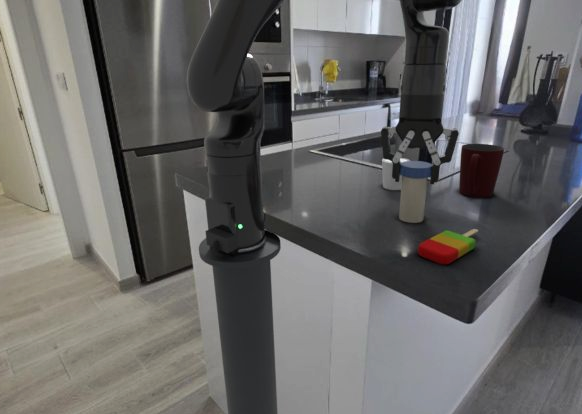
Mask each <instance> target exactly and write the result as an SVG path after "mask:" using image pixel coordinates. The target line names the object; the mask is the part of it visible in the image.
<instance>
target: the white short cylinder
mask: <svg viewBox="0 0 582 414" xmlns="http://www.w3.org/2000/svg"><path fill="white" fill-rule="evenodd" d="M400 161H401V163H402V162H405V161H411V160H410V159H408V158H405V157H401V158H400ZM392 168H393V163H392V161H390V160H388V159H384V158H382V159H381V171H382V172H381V173H382V187H383V189H385V190H389V191H401V183H402V175H400V179H399V182H395V179H393V178H392Z"/></svg>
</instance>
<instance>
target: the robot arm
mask: <svg viewBox="0 0 582 414" xmlns="http://www.w3.org/2000/svg"><path fill="white" fill-rule="evenodd" d="M285 1H286V0H217V1H216V4H215V6H214V8H213V10H212V12H211V15H210V17H209V19H208V21H207V23H206V26H205V28H204V29H203V32H202V34H201V36H200V39H199V40H198V43H197V44H196V47H195V48H194V51H193V52H192V56H191V58H190V60H189V63H188V67H187V72H186V88H187V93H188V95H189V99H190V100H191V101H192V103H193V104H194V105H195V107H197V108H198V109H199V110H201V111H204V112H206V113H217V119H216V122H215V124H214V125H213V127H212V129H211V130H210V131H208V133H206V135H205V136H204V139H203V145H204V154H205V155H204V156H205V165H206V175H207V184H208V185H207V186H208V195H209V196H208V197H206V198H205V200H204V204H205V212H206V223H207V230H205V238H206V240H207V245H209V246H210V248H211V249H212V253H213V254H214V255H215V256H217V257H220V258H222V257H223V256H224V254H226V255H229V256H231V257H235V256H237V255H241V254H248V253H252V252H255V251H257V250H259V249H261V248H262V247H263V246H264V245H265V243H266V237H265V230H266V229H265V222H266V213H264V212H265V211H264V193H263V192H264V191H263V176H262V175H263V173H262V152H261V141H262V137H263V135H264V131H265V88H264V87H265V84H264V77H263V73H262V69H261V66H260V64H259V63H258V60H257V59H256V58H255V57H254V56H253V55H252V54H250V50H251V49H252V46H253V43H254V42H255V39H256V37H257V36H258V34H259V32H260V31H261V29H263V27H264V25H265V24H266V23H267V22H268V20H269V19H270V18H271V17H272V15H274V14H275V13H276V11H277V10H278V9H279V8H280V7H281V6H282V5H283V4H284V2H285ZM462 1H463V0H399V4H400V9H401V15H402V21H403V28H404V34H405V52H404V63H403V64H404V66H403V71H402V76H401V85H400V99H399V100H400V101H399V113H398V122H397V124H396V125H394V126H387V125H385V126H383V127H382V128H381V129H380V135H381V136H380V137H381V147H382V159H388V160H390V161H392V163H393V168H392V178H393V179H395V182H399V179H400V163H401V161H400V158H403V155H404V153H405V152H406V150H407V149H410V150H411V149H412V150H413V149H421V150H428V153H429V155H430V158H431V160H432V163H431V164H432V172H431V176H430V181H429V184H430V185H435V182H438V181H439V178H440V170H441V165H443V164H446V163H447V164H448V163H451V162H452V158H453V155H454V151H455V148H456V146H457V141H458V138H459V133H460V132H459V129H457V128H448V127H444V126H443V121H442V120H443V113H444V105H445V104H444V102H445V93H446V90H447V62H448V61H447V59H448V53H449V52H448V51H449V43H450V32H449V29H447V28H446V27H444V26H439V25H432V24H428V22H427V21H426V18H425V12H431V11H432V12H433V11H443V10H450V9H453V8H456V7H457V6H458V5H460V4H461V2H462ZM394 133H396V134H397V136H398V138H399V139H400V140H401V143H400V145H399V146H398V148H397V150H396V152H395V153H394V152H391V139H392V138H393V136H394ZM442 135H444V140H445V141H446V142H447V143H446V148H445V151H444V154H443V155H442V154H441V155H440V154H439V152H438V149H437V145H436V141H437V140H438V139H439V138H440V137H441V136H442Z"/></svg>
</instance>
